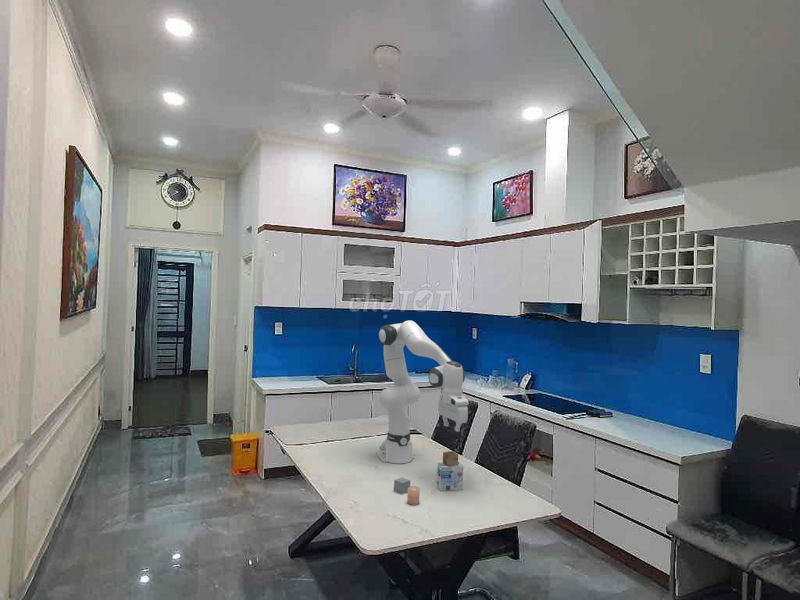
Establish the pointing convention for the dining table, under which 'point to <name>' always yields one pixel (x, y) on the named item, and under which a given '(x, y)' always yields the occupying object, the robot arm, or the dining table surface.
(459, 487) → the light bulb box
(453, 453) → the walnut cube
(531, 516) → the dining table surface
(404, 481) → the slate cube
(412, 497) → the cylinder
